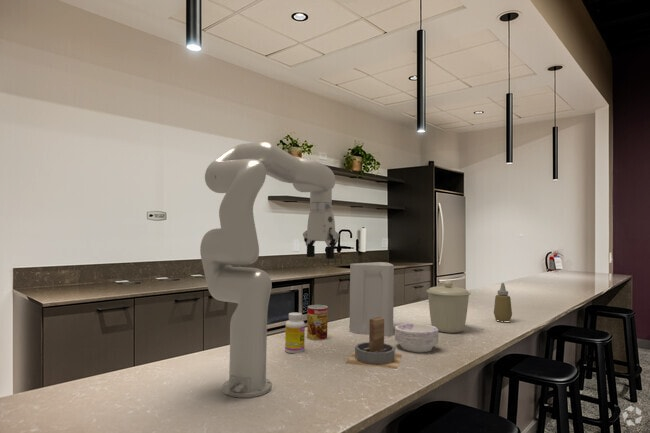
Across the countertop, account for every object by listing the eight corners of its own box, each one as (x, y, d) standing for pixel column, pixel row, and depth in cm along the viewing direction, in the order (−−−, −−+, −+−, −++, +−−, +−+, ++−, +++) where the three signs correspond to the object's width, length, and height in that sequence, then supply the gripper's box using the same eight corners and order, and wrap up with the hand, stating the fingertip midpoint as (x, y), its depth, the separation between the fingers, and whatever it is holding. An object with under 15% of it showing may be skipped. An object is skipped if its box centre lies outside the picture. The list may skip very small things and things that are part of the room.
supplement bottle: (301, 354, 141) (302, 316, 141) (282, 353, 142) (283, 315, 143) (306, 349, 147) (307, 312, 148) (288, 347, 149) (288, 311, 149)
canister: (479, 332, 176) (479, 281, 177) (451, 337, 166) (451, 284, 167) (445, 323, 191) (445, 277, 192) (417, 328, 181) (417, 279, 182)
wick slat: (383, 355, 137) (384, 318, 138) (375, 358, 134) (375, 320, 134) (377, 353, 139) (378, 317, 139) (369, 356, 136) (369, 319, 136)
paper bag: (374, 339, 162) (375, 266, 163) (348, 331, 174) (349, 263, 175) (406, 332, 174) (407, 264, 175) (380, 325, 186) (381, 262, 187)
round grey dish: (402, 358, 136) (402, 348, 136) (377, 367, 127) (378, 355, 127) (372, 350, 145) (372, 340, 145) (347, 357, 136) (347, 346, 136)
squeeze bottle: (491, 319, 202) (491, 281, 203) (509, 320, 201) (509, 282, 202) (496, 323, 194) (496, 284, 195) (514, 323, 193) (514, 284, 194)
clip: (387, 356, 136) (387, 348, 136) (375, 360, 132) (375, 352, 132) (374, 353, 140) (374, 345, 140) (362, 356, 136) (362, 349, 136)
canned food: (319, 341, 158) (319, 309, 158) (302, 337, 163) (303, 306, 163) (331, 337, 164) (331, 306, 165) (315, 334, 169) (315, 304, 169)
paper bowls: (405, 341, 160) (405, 320, 160) (444, 348, 151) (444, 326, 151) (387, 350, 147) (387, 327, 148) (428, 358, 139) (428, 334, 139)
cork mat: (397, 370, 126) (397, 368, 126) (345, 365, 131) (345, 363, 131) (402, 355, 142) (402, 353, 142) (355, 351, 146) (355, 349, 146)
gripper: (346, 208, 142) (345, 258, 142) (312, 209, 155) (311, 256, 154) (330, 207, 137) (329, 259, 137) (296, 208, 150) (295, 256, 149)
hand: (320, 257), depth 145 cm, fingers open, 9 cm apart
